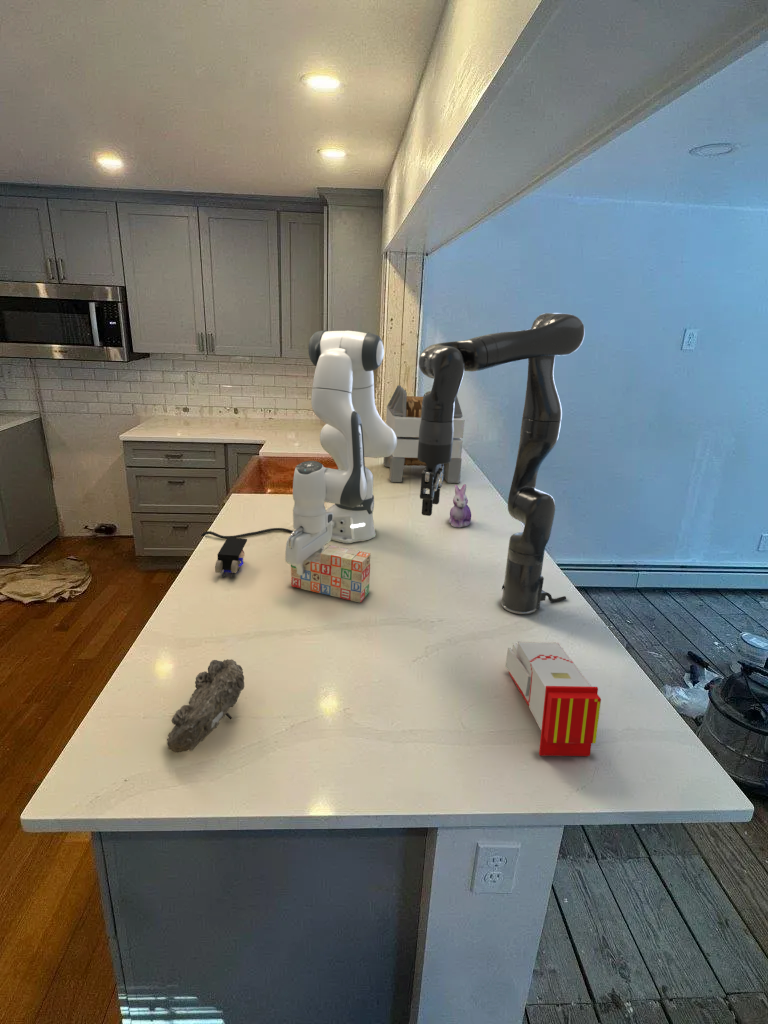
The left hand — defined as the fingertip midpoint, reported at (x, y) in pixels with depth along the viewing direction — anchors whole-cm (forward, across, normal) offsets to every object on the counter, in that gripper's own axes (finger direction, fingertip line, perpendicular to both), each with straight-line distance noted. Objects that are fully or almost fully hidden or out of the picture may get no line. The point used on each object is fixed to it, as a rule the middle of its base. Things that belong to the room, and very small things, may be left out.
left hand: (309, 567), depth 159 cm
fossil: (+5, -56, -10) cm, 58 cm away
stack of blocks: (+5, 0, -7) cm, 9 cm away
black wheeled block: (+5, -2, +25) cm, 25 cm away
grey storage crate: (+6, +126, +10) cm, 127 cm away
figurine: (+5, +68, -26) cm, 73 cm away
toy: (+5, -26, -68) cm, 73 cm away
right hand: (-26, -9, -36) cm, 46 cm away
